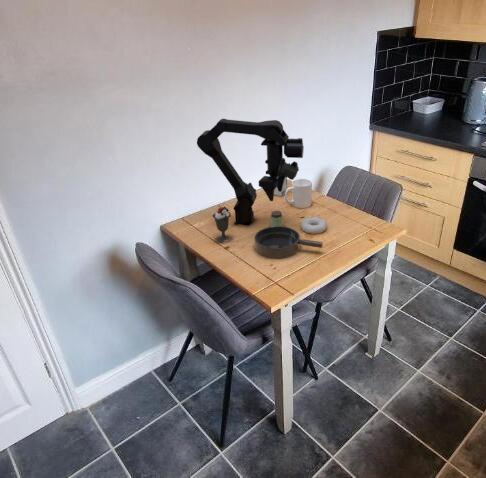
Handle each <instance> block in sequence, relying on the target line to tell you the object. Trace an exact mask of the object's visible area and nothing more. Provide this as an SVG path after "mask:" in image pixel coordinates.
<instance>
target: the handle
mask: <svg viewBox="0 0 486 478" xmlns="http://www.w3.org/2000/svg"><path fill="white" fill-rule="evenodd" d="M323 243H324V242H323V241H317V240H310V239H300V240H299V241H298V244H300V245H301V246H307V247H313V248H319V249H322V248H323V245H324V244H323Z"/></svg>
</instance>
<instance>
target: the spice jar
mask: <svg viewBox="0 0 486 478" xmlns="http://www.w3.org/2000/svg"><path fill="white" fill-rule="evenodd" d="M283 216H284V215H283V213H282V211H281V210H272V211H271V212H270V227H273V226H283V227H284V221H283V219H284V218H283Z"/></svg>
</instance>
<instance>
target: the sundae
mask: <svg viewBox="0 0 486 478" xmlns="http://www.w3.org/2000/svg"><path fill="white" fill-rule="evenodd" d="M231 215H232V214H231V212H230V211H229V209H228V208H227V207H226V206H221V205H220V204H219V205H218V209H217V210H216V212H214V213H213V214H212V217H211V218H213V219H214V221H215V226H216V228H217V230H218V231H219V232H221V236H218V237H217V239H216V241H217V242H218V243H221V244H223V243H224V242H225V241H228V240H229V235H226V231H227V230H228V229H229V224H230V223H229V222H230V218H231Z"/></svg>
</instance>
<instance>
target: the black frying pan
mask: <svg viewBox="0 0 486 478" xmlns="http://www.w3.org/2000/svg"><path fill="white" fill-rule="evenodd" d="M253 240H254V250H255V252H256V254H258V255H260V256H261V257H264V258H267V259H273V260H274V259H275V260H278V259H286V258H289V257H290V258H291V257H292V256H294V255H295V254H297V253H298V252H299V250H300V248H301V244H298V241H299V240H301V235H300V233H299V232H298V230H295V229H294V228H291V227H288V226H284V225H283V226H273V227H271V226H269V227H265V228H262V229H259V230H258V231H257V232H256V233H255V235H254V239H253Z"/></svg>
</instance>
